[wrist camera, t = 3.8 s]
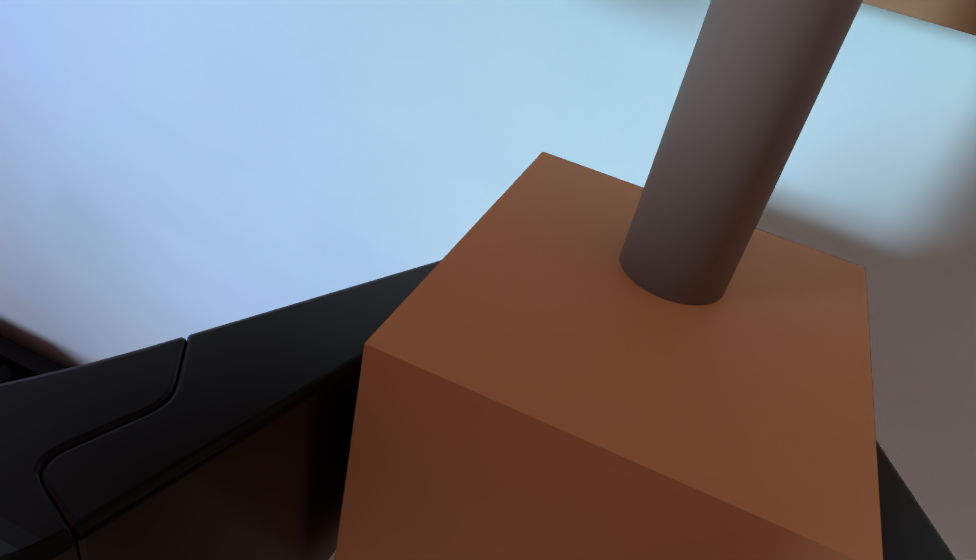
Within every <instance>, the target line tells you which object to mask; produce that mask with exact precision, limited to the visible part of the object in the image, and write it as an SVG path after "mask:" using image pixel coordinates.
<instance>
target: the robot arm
mask: <svg viewBox="0 0 976 560" xmlns="http://www.w3.org/2000/svg"><path fill="white" fill-rule="evenodd" d="M441 261H442V260H440V261H437V262H434V263H430V264H427V265H424V266H420V267H417V268H413V269H410V270H407V271H403V272H400V273H397V274H393V275H390V276H387V277H383V278H380V279H376V280H373V281H370V282H366V283H363V284H360V285H356V286H353V287H350V288H346V289H343V290H339V291H336V292H333V293H329V294H326V295H323V296H319V297H316V298H312V299H309V300H306V301H302V302H299V303H296V304H292V305H289V306H286V307H282V308H279V309H275V310H272V311H269V312H265V313H262V314H259V315H255V316H252V317H249V318H245V319H242V320H238V321H235V322H232V323H228V324H225V325H222V326H218V327H215V328H212V329H208V330H205V331H201V332H198V333H195V334H191V335H190V336H189V337H188V339H187V341H186V339H185V338H182V337H181V338H177V339H174V340H170V341H167V342H164V343H160V344H157V345H153V346H150V347H147V348H143V349H139V350H136V351H132V352H129V353H125V354H121V355H118V356H114V357H110V358H107V359H103V360H99V361H96V362H92V363H88V364H84V365H80V366H76V367H71V368H67V369H64V368H62V367H60V366H57V365H55V364H53V363H51V362H49V361H47V360H45V359H43V358H41V357H39V356H37V355H35V354H33V353H31V352H29V351H27V350H25V349H23V348H21V347H19V346H17V345H15V344H13V343H11V342H9V341H7V340H5V339H3V338H1V337H0V560H329V558H330V557H331V556H332V554H333V553H334V552H335V550H336V547H337V540H338V533H339V525H340V518H341V511H342V504H343V496H344V489H345V482H346V474H347V467H348V460H349V453H350V445H351V438H352V431H353V423H354V416H355V409H356V402H357V394H358V387H359V380H360V372H361V365H362V358H363V351H364V343H365V342H366V341H367V340H368V339H369V338H370V337H371V336H372V335H373V334H374V333H375V331H376V330H377V329H378V328H379V327H380V326H381V325H382V324H383V323H384V322H385V321H386V320H387V319H388V317H389V316H390V315H391V314H392V313H393V312H394V311H395V310H396V309H397V308H398V307H399V306H400V305H401V304H402V302H403V301H404V300H405V299H406V298H407V297H408V296H409V295H410V294H411V293H412V292H413V291H414V290H415V288H416V287H417V286H418V285H419V284H420V283H421V282H422V281H423V280H424V279H425V278H426V277H427V276H428V274H429V273H430V272H431V271H432V270H433V269H434V268H435V267H436V266H437V265H438V264H439V263H440V262H441ZM876 452H877V468H878V485H879V502H880V518H881V535H882V551H883V560H956V559H955V557H954V556H953V554H952V553H951V551H950V550H949V548H948V547H947V545H946V544H945V542H944V541H943V539H942V538H941V536H940V535H939V533H938V532H937V530H936V529H935V527H934V526H933V524H932V523H931V521H930V520H929V518H928V517H927V516H926V514H925V513H924V511H923V510H922V508H921V507H920V505H919V504H918V502H917V501H916V499H915V498H914V496H913V495H912V493H911V492H910V490H909V489H908V487H907V486H906V484H905V483H904V481H903V480H902V478H901V477H900V475H899V474H898V472H897V471H896V469H895V468H894V466H893V465H892V463H891V462H890V460H889V459H888V457H887V456H886V454H885V453H884V451H883V450H882V448H881V447H880V445H879V444H878V442H877V441H876Z"/></svg>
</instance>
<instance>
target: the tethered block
mask: <svg viewBox="0 0 976 560" xmlns="http://www.w3.org/2000/svg"><path fill="white" fill-rule="evenodd" d="M862 1H863V0H711V3H710V6H709V9H708V11H707V14H706V17H705V20H704V22H703V25H702V28H701V31H700V34H699V36H698V39H697V42H696V45H695V47H694V50H693V53H692V56H691V59H690V61H689V64H688V67H687V70H686V73H685V75H684V78H683V81H682V84H681V86H680V89H679V92H678V95H677V98H676V100H675V103H674V106H673V109H672V111H671V114H670V117H669V120H668V123H667V125H666V128H665V131H664V134H663V136H662V139H661V142H660V145H659V148H658V150H657V153H656V156H655V159H654V161H653V164H652V167H651V170H650V173H649V175H648V178H647V181H646V184H645V186H644V188H643V187H640V186H637V185H634V184H631V183H629V182H626V181H623V180H620V179H618V178H615V177H612V176H609V175H606V174H604V173H601V172H598V171H595V170H593V169H590V168H587V167H584V166H581V165H579V164H576V163H573V162H570V161H568V160H565V159H562V158H559V157H556V156H554V155H551V154H548V153H545V152H542V153H541V154H540V155H539V156H538V157H537V158H536V159H535V161H534V162H533V163H532V164H531V165H530V166H529V167H528V168H527V169H526V170H525V171H524V172H523V173H522V175H521V176H520V177H519V178H518V179H517V180H516V181H515V182H514V183H513V184H512V185H511V186H510V187H509V189H508V190H507V191H506V192H505V193H504V194H503V195H502V196H501V197H500V198H499V199H498V200H497V201H496V202H495V204H494V205H493V206H492V207H491V208H490V209H489V210H488V211H487V212H486V213H485V214H484V215H483V216H482V218H481V219H480V220H479V221H478V222H477V223H476V224H475V225H474V226H473V227H472V228H471V229H470V230H469V232H468V233H467V234H466V235H465V236H464V237H463V238H462V239H461V240H460V241H459V242H458V243H457V244H456V245H455V247H454V248H453V249H452V250H451V251H450V252H449V253H448V254H447V255H446V256H445V257H444V258H443V259H442V261H441V262H440V263H439V264H438V265H437V266H436V267H435V268H434V269H433V270H432V271H431V272H430V273H429V274H428V276H427V277H426V278H425V279H424V280H423V281H422V282H421V283H420V284H419V285H418V286H417V287H416V288H415V290H414V291H413V292H412V293H411V294H410V295H409V296H408V297H407V298H406V299H405V300H404V301H403V302H402V304H401V305H400V306H399V307H398V308H397V309H396V310H395V311H394V312H393V313H392V314H391V315H390V316H389V317H388V319H387V320H386V321H385V322H384V323H383V324H382V325H381V326H380V327H379V328H378V329H377V330H376V331H375V333H374V334H373V335H372V336H371V337H370V338H369V339H368V340H367V341H366V342H365V343H364V351H363V358H362V365H361V372H360V380H359V387H358V394H357V402H356V409H355V416H354V423H353V431H352V438H351V445H350V453H349V460H348V467H347V474H346V482H345V489H344V496H343V504H342V511H341V518H340V525H339V533H338V540H337V547H336V555H335V560H883V551H882V535H881V518H880V502H879V485H878V468H877V452H876V435H875V418H874V402H873V385H872V368H871V352H870V335H869V319H868V302H867V285H866V269H865V267H862V266H859V265H857V264H854V263H851V262H848V261H845V260H843V259H840V258H837V257H834V256H832V255H829V254H826V253H823V252H820V251H818V250H815V249H812V248H809V247H807V246H804V245H801V244H798V243H795V242H793V241H790V240H787V239H784V238H782V237H779V236H776V235H773V234H770V233H768V232H765V231H762V230H759V229H757V228H756V226H757V224H758V221H759V219H760V217H761V215H762V213H763V211H764V209H765V207H766V205H767V202H768V200H769V198H770V196H771V194H772V192H773V190H774V188H775V185H776V183H777V181H778V179H779V177H780V175H781V173H782V171H783V168H784V166H785V164H786V162H787V160H788V158H789V156H790V154H791V152H792V149H793V147H794V145H795V143H796V141H797V139H798V137H799V135H800V132H801V130H802V128H803V126H804V124H805V122H806V120H807V118H808V116H809V113H810V111H811V109H812V107H813V105H814V103H815V101H816V99H817V96H818V94H819V92H820V90H821V88H822V86H823V84H824V82H825V80H826V77H827V75H828V73H829V71H830V69H831V67H832V65H833V63H834V60H835V58H836V56H837V54H838V52H839V50H840V48H841V46H842V44H843V41H844V39H845V37H846V35H847V33H848V31H849V29H850V27H851V24H852V22H853V20H854V18H855V16H856V14H857V12H858V10H859V7H860V5H861V3H862Z"/></svg>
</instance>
